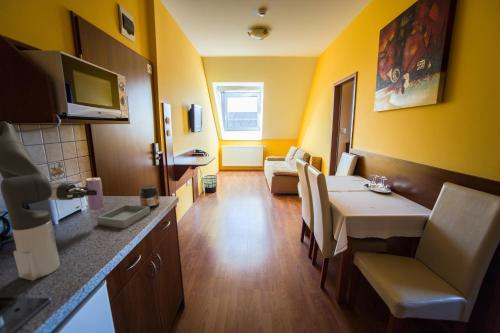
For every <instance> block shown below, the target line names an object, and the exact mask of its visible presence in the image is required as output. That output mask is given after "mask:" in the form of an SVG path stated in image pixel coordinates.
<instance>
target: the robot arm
mask: <svg viewBox="0 0 500 333" xmlns="http://www.w3.org/2000/svg"><path fill="white" fill-rule="evenodd" d="M0 175H1V177H2V180H1V181H0V192H1V195H2V199H3V201H4V204H5V208H6V211H7V214H8V218H9V219H8V220H9V223H10V228H11V231H12V235H13V239H14V244H15V250H14V251H13V256H14V260H15V264H16V268H17V272H18V276H19V279H25V280H28V281H32V282H33V281H35V280H37V279H40V278H43V277H45V276H47V275H49V274H52V273H53V272H55V271H56V270H57V269H58V268H59V267H60V265H61V263H60V258H59V252H58V247H57V243H56V237H55V233H54V228H53V223H52V222H53V221H52V219H51V213H50V212H49V211H48V210H41V209H40V210H35V209H34V210H31V209H26V208H23V206H27V205H32V204H36V203H40V202H44V201H71V200H74V199H83V198H84V197H88V196H91V195H97V191H96V190H92V191H87V188H86V184H85V185H84V186H83V185H81V186H78V187H77V186H76V185H75V184H73V183H57V184H51V183H50V181H49V179H48V178H47V176H46V175H45V173H43V171H42V170H41V169H40V168H39V167H38V165H37V164H36V162H35V161H34V159H33V158H32V156H31V154H30V152H29V151H28V149H27V148H26V146H25V145H24V144H23V142H22V141H21V139H20V137H19V135H18V134H17V131H16V130H15V127H14V125H13V123H12V124H9V123H7V122H6V121H1V122H0ZM104 191H105V189H104V187H103V186H102V193H103V192H104Z"/></svg>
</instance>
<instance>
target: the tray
mask: <svg viewBox="0 0 500 333" xmlns="http://www.w3.org/2000/svg"><path fill="white" fill-rule="evenodd" d="M150 214H151V208H150V207H147V206H141V205H137V204H128V203H127V204H123V205H121V206H119V207H117V208H114V209H112V210H110V211H107V212H106V213H103V214H101V215H99V216H96V221H97V225H99V226H105V227H111V228H118V229H126V228H128V227H130V226H131V225H133V224H135V223H136V222H138V221H140V220H142V219H143V218H145V217H147V216H149V215H150Z"/></svg>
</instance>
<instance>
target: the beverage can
mask: <svg viewBox="0 0 500 333" xmlns="http://www.w3.org/2000/svg"><path fill="white" fill-rule="evenodd" d="M85 185H86V188H87V191H92V190H96V191H97V195H91V196H87V202H88V210H89V211H91V212H95V211H96V212H97V211H101V210H103V209H104V207H105V204H104V203H105V202H104V195H103V192H102V187H103V184H102V179H101V177H90V178H86V179H85Z"/></svg>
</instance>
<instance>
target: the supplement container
mask: <svg viewBox="0 0 500 333" xmlns="http://www.w3.org/2000/svg"><path fill="white" fill-rule="evenodd" d="M139 191H140V192H139V193H138V194H139V200H140V201H139V202H140V206H147V207H150V209H153V208H157V207H158V206H159V205H160V194H159V193H160V192H159V190H158V185H156V184H146V185H143V186H140V187H139Z"/></svg>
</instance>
